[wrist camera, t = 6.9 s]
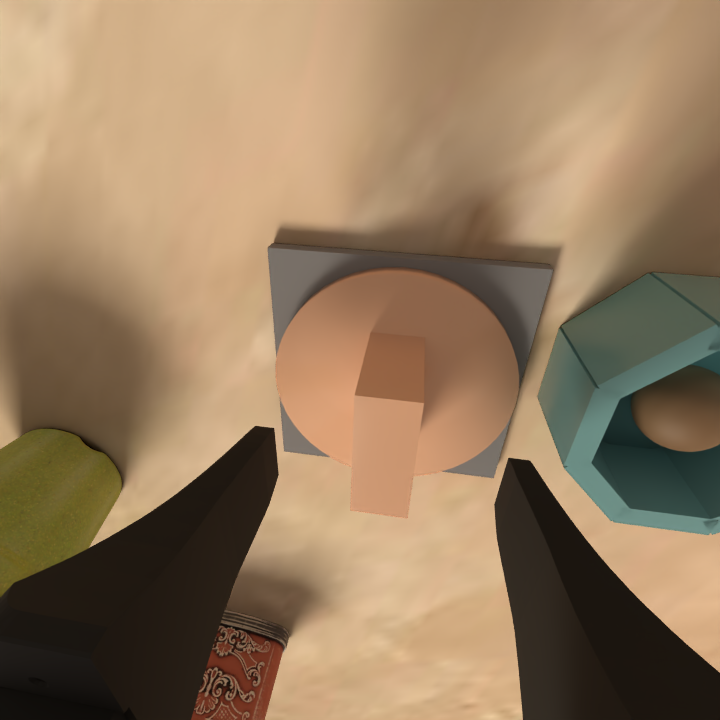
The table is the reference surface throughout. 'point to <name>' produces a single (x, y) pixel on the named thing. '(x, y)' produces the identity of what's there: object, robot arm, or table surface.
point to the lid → (396, 379)
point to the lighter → (241, 669)
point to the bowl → (613, 401)
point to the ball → (680, 409)
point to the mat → (481, 276)
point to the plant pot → (50, 501)
